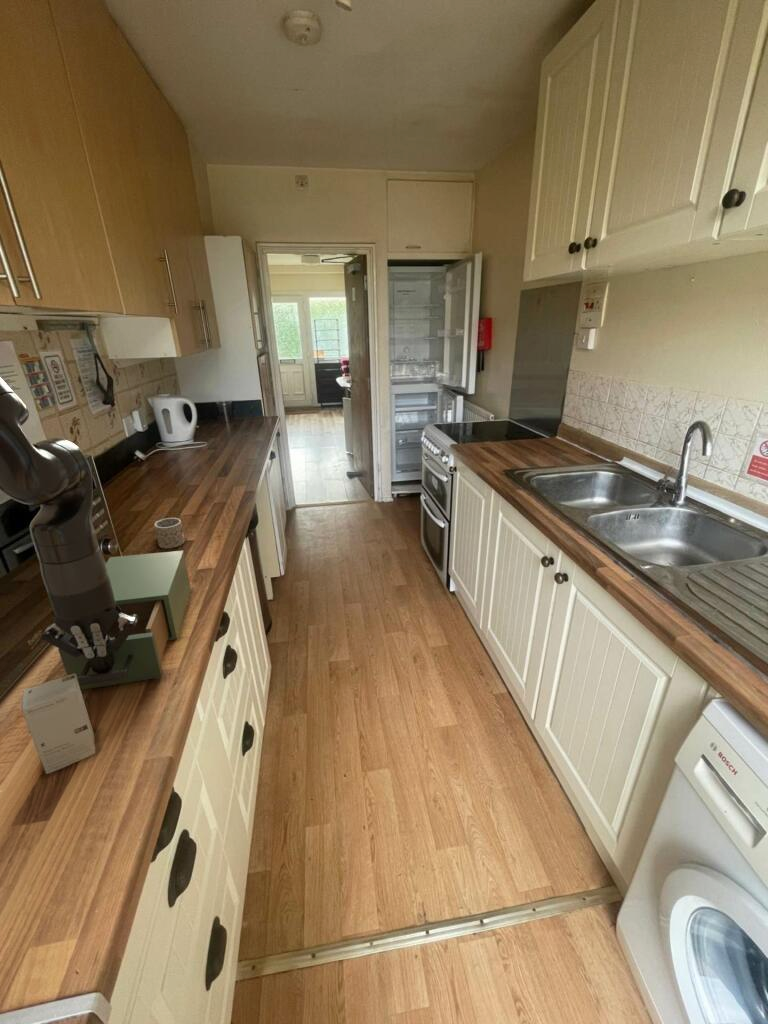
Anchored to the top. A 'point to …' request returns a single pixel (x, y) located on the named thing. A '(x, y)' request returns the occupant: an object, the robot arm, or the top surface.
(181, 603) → the cabinet
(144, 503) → the top surface
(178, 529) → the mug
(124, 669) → the drawer
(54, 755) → the cosmetic box
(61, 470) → the robot arm
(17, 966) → the top surface
